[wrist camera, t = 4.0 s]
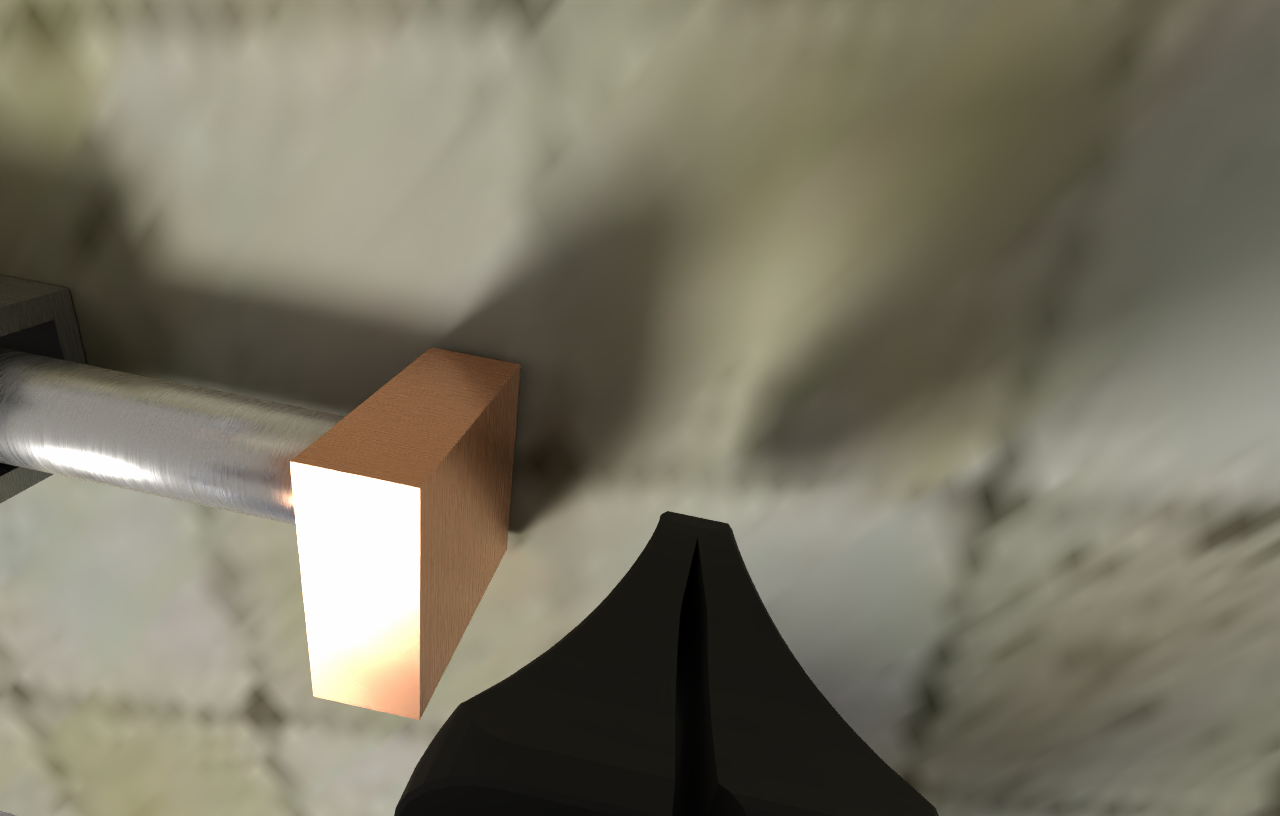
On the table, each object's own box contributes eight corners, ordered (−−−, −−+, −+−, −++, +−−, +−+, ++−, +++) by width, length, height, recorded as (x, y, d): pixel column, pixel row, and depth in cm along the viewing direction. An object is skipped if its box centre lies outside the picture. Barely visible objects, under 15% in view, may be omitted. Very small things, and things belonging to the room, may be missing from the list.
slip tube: (520, 364, 14) (419, 487, 10) (506, 548, 16) (419, 719, 12) (-162, 233, 15) (-548, 290, 10) (-87, 425, 17) (-380, 540, 13)
